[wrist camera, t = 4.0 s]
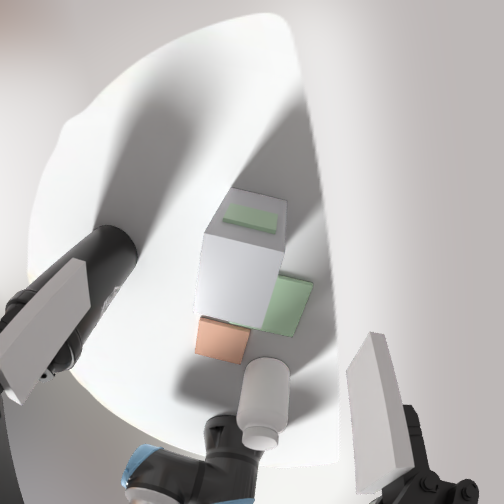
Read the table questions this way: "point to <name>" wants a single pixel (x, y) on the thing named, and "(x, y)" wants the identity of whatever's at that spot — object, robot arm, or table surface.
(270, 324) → the green pad
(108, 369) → the table surface
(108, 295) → the water bottle
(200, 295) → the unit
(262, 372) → the pill bottle
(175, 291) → the table surface
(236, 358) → the terracotta pad
